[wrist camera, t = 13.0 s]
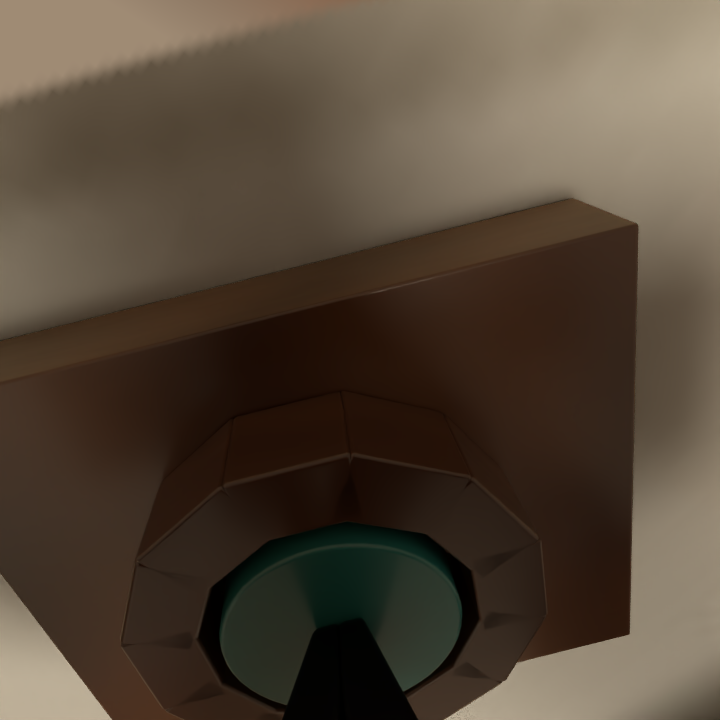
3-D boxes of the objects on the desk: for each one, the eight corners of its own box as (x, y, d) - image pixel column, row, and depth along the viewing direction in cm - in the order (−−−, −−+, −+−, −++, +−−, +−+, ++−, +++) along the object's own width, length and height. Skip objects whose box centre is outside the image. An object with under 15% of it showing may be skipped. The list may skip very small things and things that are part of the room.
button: (419, 447, 10) (445, 518, 8) (451, 598, 11) (476, 679, 10) (199, 502, 10) (180, 583, 8) (265, 644, 11) (262, 732, 10)
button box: (573, 197, 10) (722, 256, 7) (586, 563, 15) (678, 712, 11) (-45, 350, 10) (-222, 492, 7) (159, 669, 15) (118, 853, 11)
